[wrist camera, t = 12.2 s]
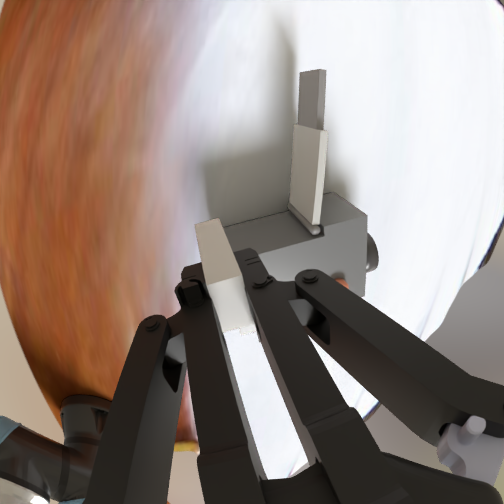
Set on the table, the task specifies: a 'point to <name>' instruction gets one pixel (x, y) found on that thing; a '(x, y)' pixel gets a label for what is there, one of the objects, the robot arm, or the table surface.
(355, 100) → the table surface
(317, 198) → the side door
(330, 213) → the housing
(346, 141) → the table surface
